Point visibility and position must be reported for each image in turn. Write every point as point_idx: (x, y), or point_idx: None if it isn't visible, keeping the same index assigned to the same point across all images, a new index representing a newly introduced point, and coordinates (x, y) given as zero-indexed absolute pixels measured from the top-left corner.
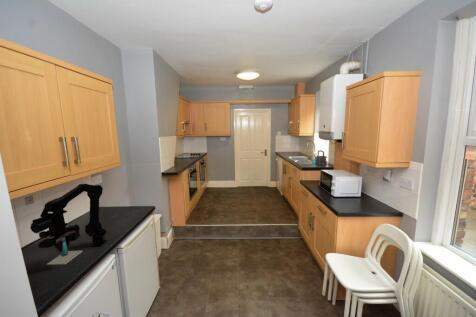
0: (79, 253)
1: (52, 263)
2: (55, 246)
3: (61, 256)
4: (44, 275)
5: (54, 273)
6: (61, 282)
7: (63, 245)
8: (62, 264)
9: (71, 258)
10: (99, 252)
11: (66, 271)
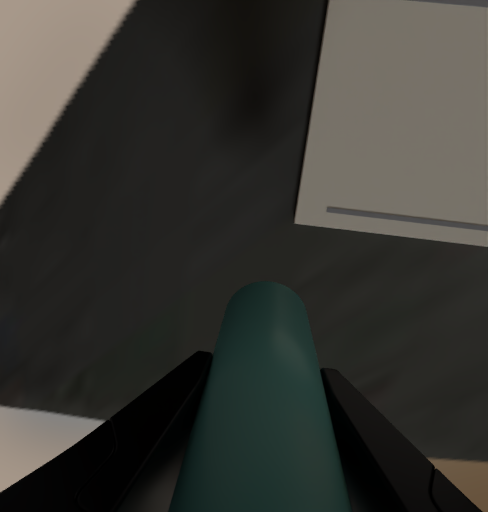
0: (481, 244)
1: (331, 51)
2: (66, 470)
3: (232, 296)
4: (144, 135)
5: (166, 220)
6: (65, 362)
7: None
8: (299, 192)
9: (381, 231)
10: (425, 430)
11: (184, 312)
